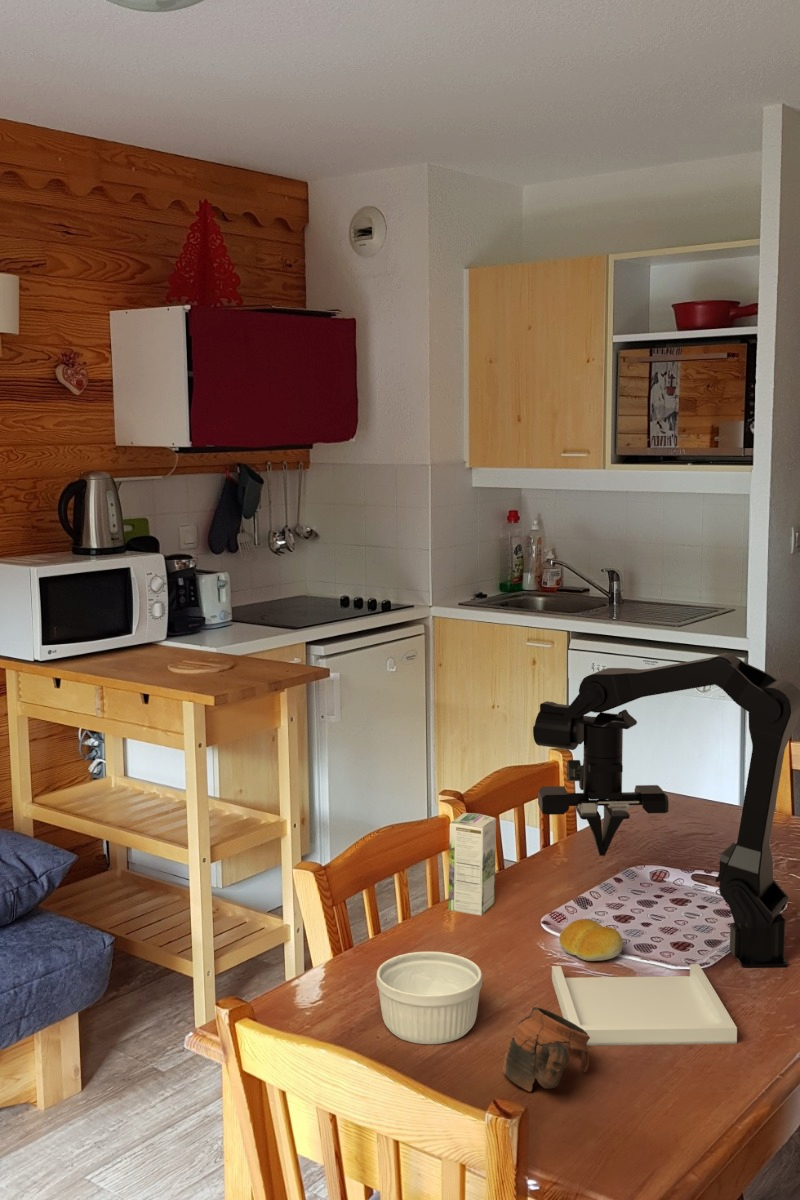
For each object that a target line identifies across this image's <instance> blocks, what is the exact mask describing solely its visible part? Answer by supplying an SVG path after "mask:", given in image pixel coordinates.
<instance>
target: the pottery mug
mask: <svg viewBox="0 0 800 1200" xmlns="http://www.w3.org/2000/svg"><path fill="white" fill-rule="evenodd" d="M589 1039H590V1037H589V1036H588V1035H587V1033H586V1032H585V1031H584V1030H583V1029H581V1028H580V1027H578V1026H577V1025H575V1024H573V1023H572V1022H570V1021H568V1020H566V1019H564V1018H563V1016H560V1015H558V1014H556V1013H553V1012H552V1011H549V1010H547V1009H544V1008H540V1007H536V1006H535V1007H532V1009H531V1012H530V1015H528V1016H525V1017H524V1018H523V1019H521V1020H520V1021H519V1022H518V1023H517V1025H516V1026H515V1029H514V1030H513V1037H512V1038H511V1041H510V1046H509V1048H508V1051H506V1052H505V1054H504V1057H503V1059H504V1061H503V1067H502V1073H503V1074H504V1076H506V1078H508V1079H509V1081H511V1082H512V1083H513V1084H515V1085H516V1086H517V1087H520V1088H521V1089H522V1090H525V1091H527V1092H529V1093H531V1092H532V1091H533V1087H534V1083H535V1082H536V1081H537V1083H538V1084H539V1085H540V1086H541V1087H542V1088H544V1089H548V1090H549V1089H554V1088H557V1087H558V1086H559V1084H560V1082H561V1080H562V1075H563V1073H564V1071H565V1069H566V1068H567V1064H568V1062H569V1061H570V1051H569V1050H570V1049H571V1050H576V1051H577V1052H578V1054H579V1055H580V1057H581V1063H580V1071H581V1072H587V1070H588V1067H589V1063H590V1062H589V1061H590V1053H589V1049H588V1046H587V1042H588V1040H589ZM566 1044H568V1046H567V1045H566ZM538 1046H539V1047H541V1052H540V1053H537V1047H538Z"/></svg>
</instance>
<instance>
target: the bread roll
mask: <svg viewBox="0 0 800 1200" xmlns="http://www.w3.org/2000/svg"><path fill="white" fill-rule="evenodd" d="M558 940H559V944H560V947H561V948H562V950H564V952H565V953H567V954H569V955H572V956H576V957H577V958H579V959H581V960H583V961H586V962H587V961H588V962H595V961H606V960H610V959H613V958H615V957H617V956H619V955H620V954H621V952H622V950H623V947H624V946H623V945H624V944H623V943H624V941H623V938H622V935H621V934H620V933H619V931H618V930H617V929H615V928H613V927H610V926H603V925H602V924H600V923H599V922H597V921H594V920H592V919H589V918H581V919H575V920H574V921H572V922H571V923H569V924H567V926H565V927H564V929H563V930H562V931H561V932H560V933H559V939H558Z"/></svg>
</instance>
